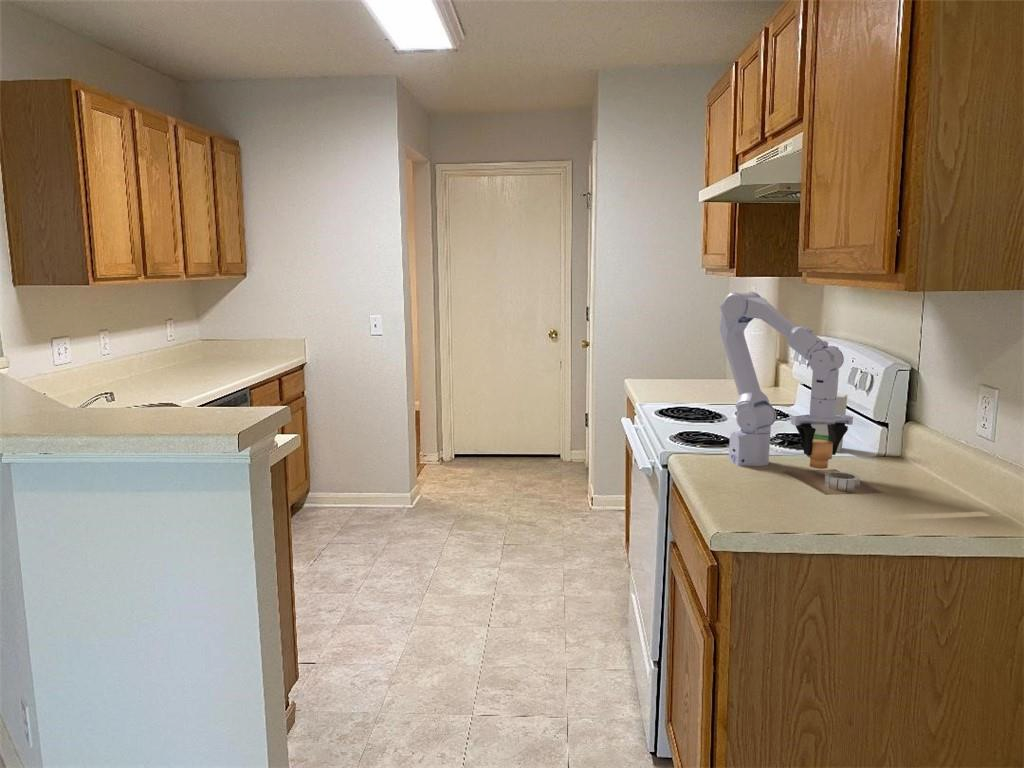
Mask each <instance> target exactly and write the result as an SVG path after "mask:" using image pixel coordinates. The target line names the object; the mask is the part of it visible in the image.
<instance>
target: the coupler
mask: <svg viewBox="0 0 1024 768" xmlns="http://www.w3.org/2000/svg"><path fill="white" fill-rule="evenodd" d="M832 452H833V442H830V441H826V440H817V439H814V440H813V442H812V453H811V455H809V456H808V455H806V457H808V458H809V467H810V468H813V469H817V470H827V469H828V468H829V460H832V459H833V455H832Z"/></svg>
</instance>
